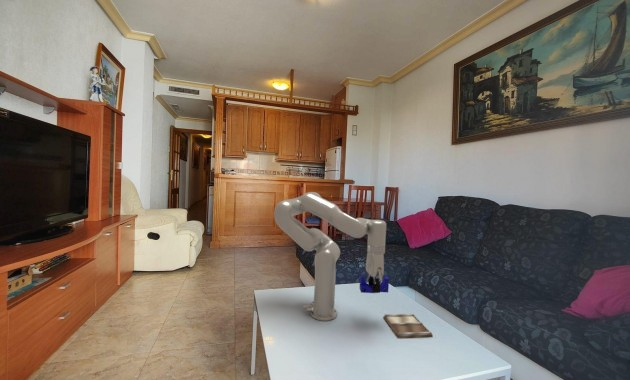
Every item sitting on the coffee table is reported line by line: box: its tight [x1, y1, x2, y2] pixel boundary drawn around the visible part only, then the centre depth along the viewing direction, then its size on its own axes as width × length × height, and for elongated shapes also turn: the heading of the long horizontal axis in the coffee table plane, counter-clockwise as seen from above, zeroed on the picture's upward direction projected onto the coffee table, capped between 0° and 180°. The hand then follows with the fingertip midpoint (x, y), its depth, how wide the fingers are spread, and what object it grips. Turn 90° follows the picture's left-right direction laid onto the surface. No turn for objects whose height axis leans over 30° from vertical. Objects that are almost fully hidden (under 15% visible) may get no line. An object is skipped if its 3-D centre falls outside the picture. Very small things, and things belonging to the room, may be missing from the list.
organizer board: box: [382, 313, 433, 339], centre depth 114 cm, size 15×15×2 cm
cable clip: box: [359, 274, 390, 294], centre depth 114 cm, size 12×4×6 cm, turn 88°
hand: (374, 289), depth 115 cm, fingers closed on cable clip, 4 cm apart
